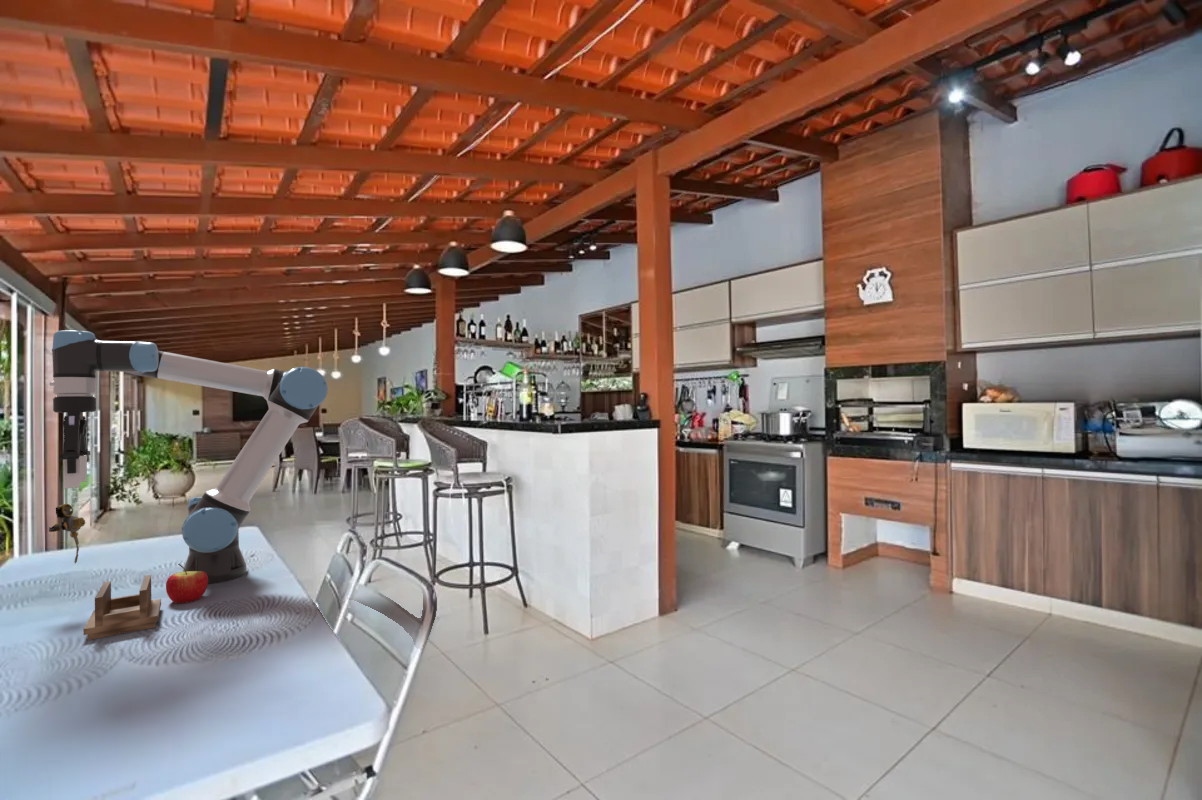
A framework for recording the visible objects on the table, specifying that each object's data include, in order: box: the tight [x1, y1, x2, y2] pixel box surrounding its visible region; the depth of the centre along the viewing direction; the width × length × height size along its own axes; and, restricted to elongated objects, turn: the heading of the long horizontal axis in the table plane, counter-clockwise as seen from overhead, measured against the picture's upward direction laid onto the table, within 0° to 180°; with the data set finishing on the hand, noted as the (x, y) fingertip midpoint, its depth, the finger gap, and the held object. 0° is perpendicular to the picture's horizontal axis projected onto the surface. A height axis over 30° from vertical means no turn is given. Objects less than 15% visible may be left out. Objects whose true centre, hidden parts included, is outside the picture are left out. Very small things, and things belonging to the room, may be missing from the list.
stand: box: [82, 574, 162, 641], centre depth 125 cm, size 12×14×9 cm
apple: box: [165, 563, 209, 604], centre depth 141 cm, size 8×8×10 cm
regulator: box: [48, 503, 86, 564], centre depth 137 cm, size 8×4×15 cm, turn 100°
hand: (76, 485), depth 135 cm, fingers open, 13 cm apart
